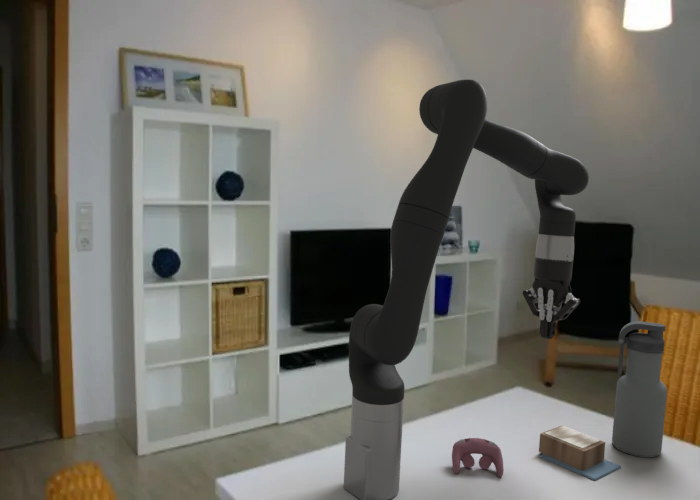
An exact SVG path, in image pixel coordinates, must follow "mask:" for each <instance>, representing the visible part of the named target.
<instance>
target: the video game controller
mask: <svg viewBox="0 0 700 500" xmlns="http://www.w3.org/2000/svg"><path fill="white" fill-rule="evenodd" d="M451 451H452V452H451V462H452V463H451V464H452V469H453V472H454V474H459V472H460V468H461V463H462V465H463V467H464V468H467V469H470V468H473V467H474V466H475V459H474V457H473V456H472V455H474V454H476V455H478V454H479V455H482V456H481V457H480V458H479V460H478V465H479V468H480V469H482V470H488V469H490V467H491V466H492V465H491V464H494V467H495V470H496V474H497V476H498V477H499V478H502V477H503V475H504V458H503V454H502V450H501V448H500V447H499V445H498V444H496V443H495V442H494V441H492V440H488V439H485V438H479V437H469V438H462V439H459V440H458V441H455V442H454V443H453V446H452V450H451Z"/></svg>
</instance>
